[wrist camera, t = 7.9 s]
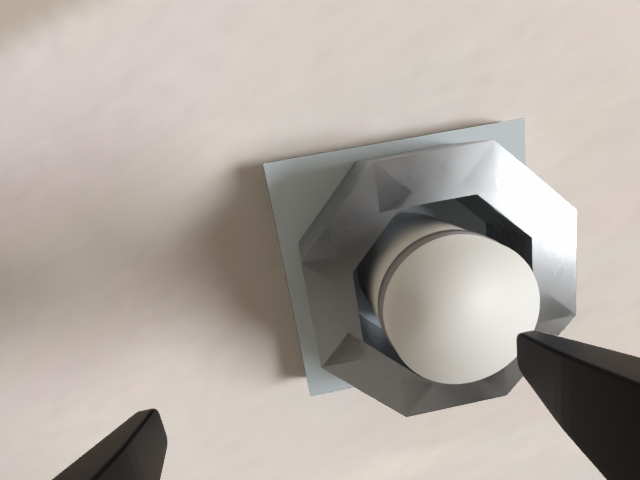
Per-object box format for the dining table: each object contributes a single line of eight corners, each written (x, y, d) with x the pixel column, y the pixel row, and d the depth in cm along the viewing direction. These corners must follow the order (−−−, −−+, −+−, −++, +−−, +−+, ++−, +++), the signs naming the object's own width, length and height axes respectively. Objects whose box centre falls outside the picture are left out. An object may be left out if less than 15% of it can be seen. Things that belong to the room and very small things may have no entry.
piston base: (510, 335, 19) (625, 425, 12) (308, 377, 18) (320, 494, 12) (502, 121, 16) (642, 97, 10) (265, 163, 15) (250, 165, 9)
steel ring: (526, 342, 17) (575, 380, 14) (325, 384, 17) (333, 432, 14) (519, 131, 15) (577, 124, 12) (285, 173, 14) (284, 177, 11)
